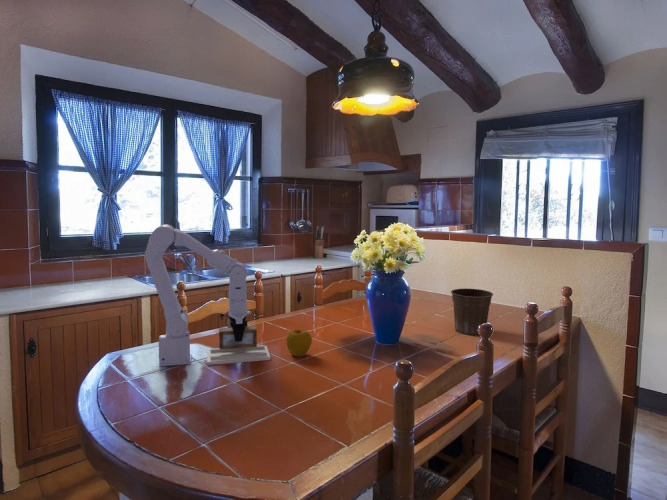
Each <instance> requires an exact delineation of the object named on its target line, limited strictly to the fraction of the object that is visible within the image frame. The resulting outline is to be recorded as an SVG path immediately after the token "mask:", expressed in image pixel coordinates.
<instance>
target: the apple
mask: <svg viewBox="0 0 667 500" xmlns="http://www.w3.org/2000/svg"><path fill="white" fill-rule="evenodd" d="M285 338H286V347H287V349H288V351H289V353H290V354H291V355H292V356H294V357H297V358H300V357H304V356H305V355H307V353H308V351H309V349H310V348H311V345H312V342H313V338H312V336H311V334H310V333H309V332H308V331H307V330H305V329H300V328H299V329H297V328H296V329H292V330H289V332H288V333H287V335H286V337H285Z"/></svg>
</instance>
